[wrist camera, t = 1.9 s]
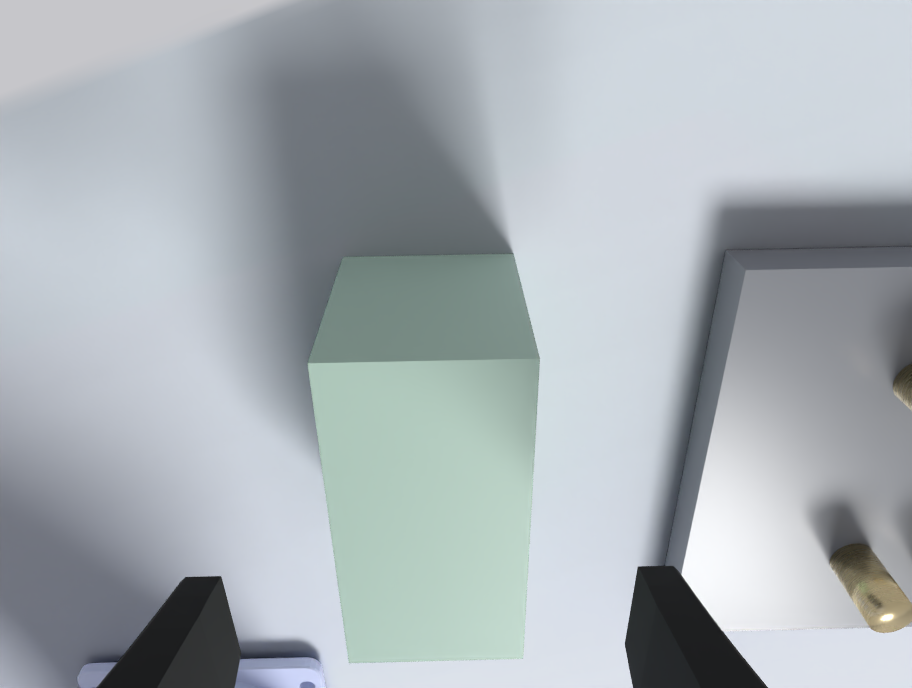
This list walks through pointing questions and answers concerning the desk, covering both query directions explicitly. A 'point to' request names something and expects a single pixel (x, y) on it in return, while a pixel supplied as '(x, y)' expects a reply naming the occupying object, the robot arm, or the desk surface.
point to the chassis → (803, 444)
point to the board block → (428, 453)
